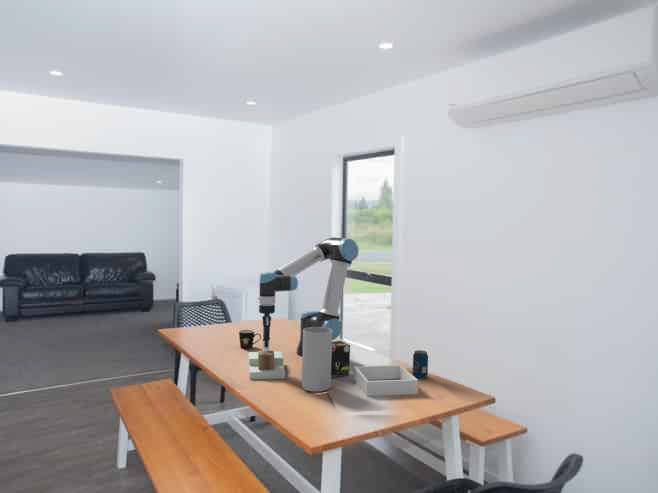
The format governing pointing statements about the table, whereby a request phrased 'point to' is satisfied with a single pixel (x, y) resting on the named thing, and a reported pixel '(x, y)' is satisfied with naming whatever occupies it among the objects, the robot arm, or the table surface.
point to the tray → (386, 387)
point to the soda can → (420, 364)
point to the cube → (265, 360)
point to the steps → (266, 374)
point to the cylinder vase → (316, 359)
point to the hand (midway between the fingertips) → (265, 353)
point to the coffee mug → (247, 338)
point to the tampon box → (340, 359)
